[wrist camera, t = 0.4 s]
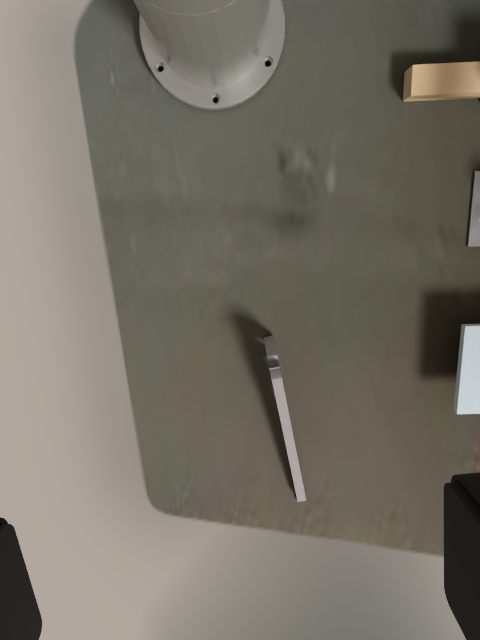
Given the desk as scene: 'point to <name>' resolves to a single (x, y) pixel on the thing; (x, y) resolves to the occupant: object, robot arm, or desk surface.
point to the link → (442, 81)
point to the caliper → (284, 416)
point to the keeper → (468, 371)
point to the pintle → (475, 213)
